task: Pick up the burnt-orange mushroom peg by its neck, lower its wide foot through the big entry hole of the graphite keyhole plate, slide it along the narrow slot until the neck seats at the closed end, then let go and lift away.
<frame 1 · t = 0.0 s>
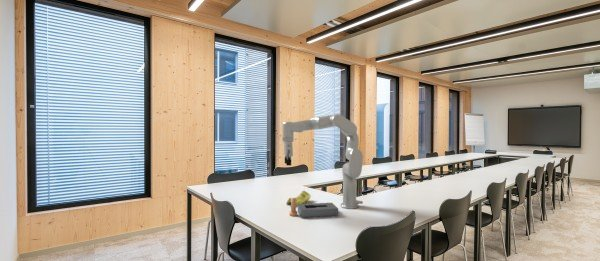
hand: (287, 164, 195), 31 cm above the table, tool pointing down, fingers open, 9 cm apart
keyhole plate: (317, 213, 186), on the table
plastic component: (299, 203, 212), on the table
peg: (293, 215, 183), on the table
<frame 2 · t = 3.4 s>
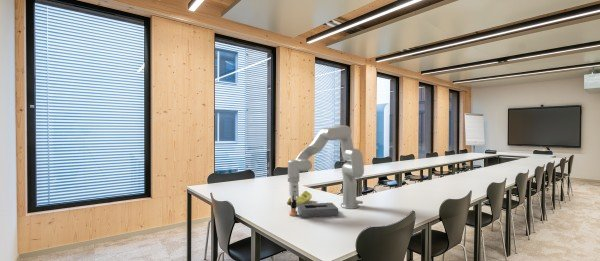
hand: (293, 207, 183), 5 cm above the table, tool pointing down, fingers closed on peg, 3 cm apart
peg: (293, 215, 183), on the table, touching gripper
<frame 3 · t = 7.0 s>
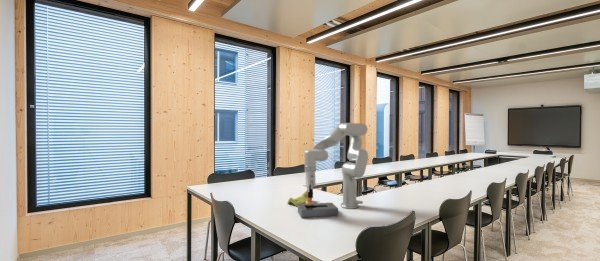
hand: (309, 196, 185), 12 cm above the table, tool pointing down, fingers closed on peg, 3 cm apart
peg: (309, 204, 185), point 6 cm above the table, touching gripper
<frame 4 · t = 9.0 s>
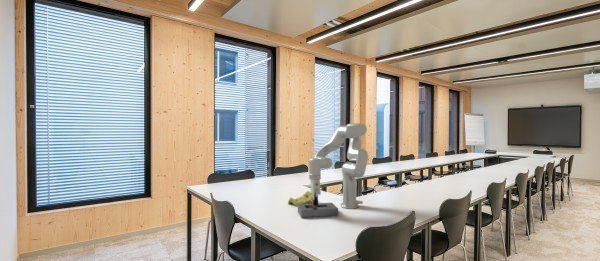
hand: (314, 204, 186), 6 cm above the table, tool pointing down, fingers closed on peg, 3 cm apart
peg: (314, 212, 186), point 1 cm above the table, touching gripper
when the fingers open (6 cm above the table, at t = 10.6 s): peg stays where it is, resting on keyhole plate.
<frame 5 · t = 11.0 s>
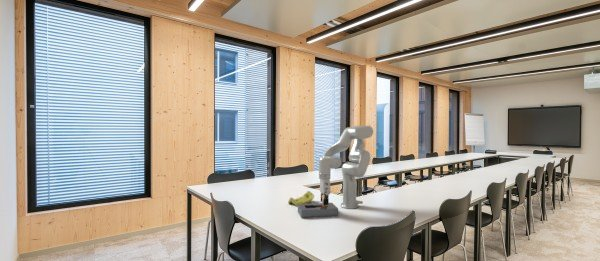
hand: (324, 202, 187), 7 cm above the table, tool pointing down, fingers open, 6 cm apart
peg: (324, 211, 187), point 1 cm above the table, touching keyhole plate
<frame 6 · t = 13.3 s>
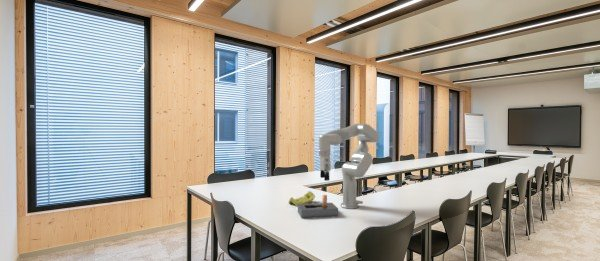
hand: (324, 178, 187), 23 cm above the table, tool pointing down, fingers open, 9 cm apart
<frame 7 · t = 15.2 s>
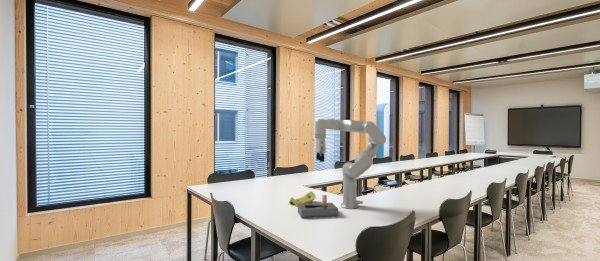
hand: (320, 160, 199), 33 cm above the table, tool pointing down, fingers open, 9 cm apart
at the end: peg 0.2 cm from the target spot on the keyhole plate, point 1.0 cm above the keyhole plate's base; the gripper is holding nothing; peg tilted 1° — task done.
